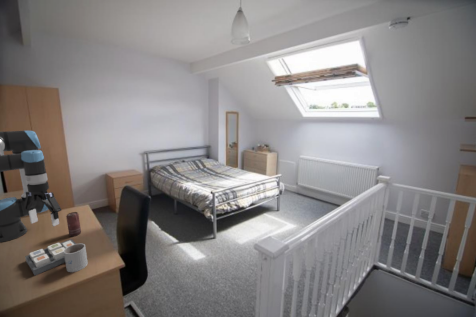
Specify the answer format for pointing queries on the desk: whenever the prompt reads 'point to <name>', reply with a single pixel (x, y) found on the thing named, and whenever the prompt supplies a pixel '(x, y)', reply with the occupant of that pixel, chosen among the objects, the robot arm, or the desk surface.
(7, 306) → the desk surface
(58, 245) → the key olive
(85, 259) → the mug
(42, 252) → the key slate
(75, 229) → the can
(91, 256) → the desk surface
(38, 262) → the key rust
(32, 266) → the keypad
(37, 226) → the desk surface
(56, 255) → the key sand
